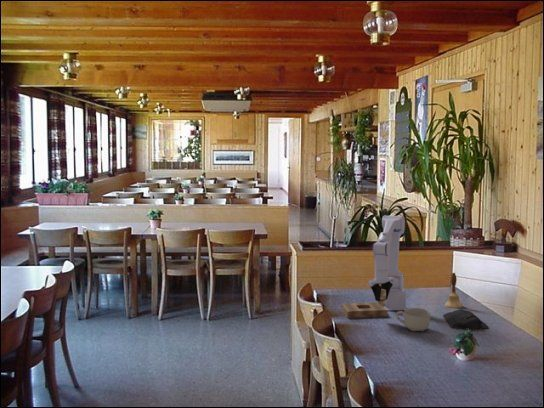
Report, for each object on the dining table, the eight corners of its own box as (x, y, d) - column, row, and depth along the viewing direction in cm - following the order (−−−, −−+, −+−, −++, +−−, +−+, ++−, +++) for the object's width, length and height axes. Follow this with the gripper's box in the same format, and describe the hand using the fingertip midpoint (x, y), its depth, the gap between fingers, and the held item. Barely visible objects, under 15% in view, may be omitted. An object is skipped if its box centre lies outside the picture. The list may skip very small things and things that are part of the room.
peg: (384, 304, 264) (384, 288, 263) (387, 306, 260) (387, 291, 259) (375, 304, 264) (375, 289, 263) (377, 307, 259) (377, 291, 259)
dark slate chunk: (475, 316, 268) (475, 305, 268) (489, 330, 246) (489, 319, 246) (440, 316, 269) (440, 305, 269) (452, 330, 247) (452, 319, 247)
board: (379, 308, 282) (379, 302, 282) (386, 316, 268) (386, 310, 268) (341, 309, 281) (341, 303, 281) (347, 318, 267) (347, 311, 267)
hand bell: (441, 305, 285) (441, 272, 284) (451, 302, 290) (451, 270, 289) (455, 309, 279) (456, 275, 277) (466, 306, 284) (466, 273, 282)
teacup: (432, 327, 251) (432, 309, 250) (427, 335, 241) (427, 315, 240) (399, 324, 257) (399, 305, 256) (393, 331, 247) (393, 312, 246)
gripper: (386, 265, 268) (386, 295, 269) (362, 270, 259) (363, 300, 260) (398, 268, 262) (398, 298, 263) (374, 272, 253) (374, 304, 255)
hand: (381, 299), depth 261 cm, fingers closed on peg, 4 cm apart
